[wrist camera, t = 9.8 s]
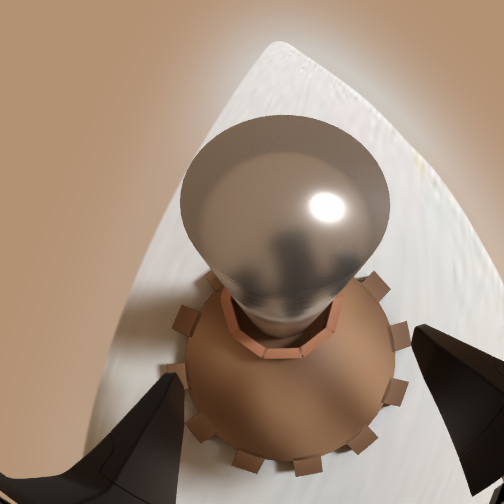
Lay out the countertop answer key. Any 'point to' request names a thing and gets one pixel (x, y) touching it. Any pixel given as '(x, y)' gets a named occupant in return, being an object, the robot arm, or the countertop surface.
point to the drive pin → (284, 216)
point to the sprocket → (291, 377)
